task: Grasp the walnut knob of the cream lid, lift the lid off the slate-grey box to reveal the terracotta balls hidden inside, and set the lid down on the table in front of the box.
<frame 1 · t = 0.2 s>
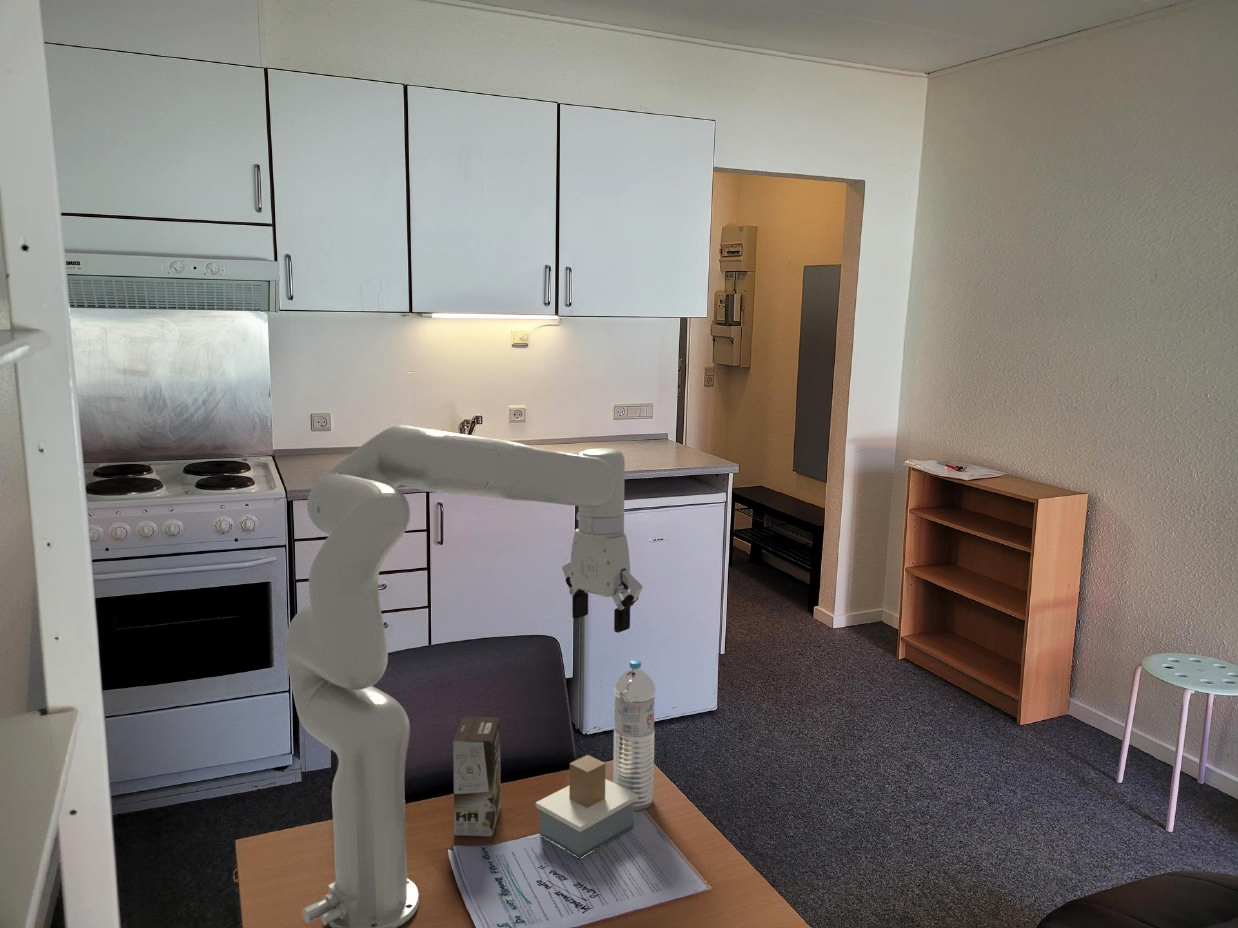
hand: (600, 623, 154), 30 cm above the table, fingers open, 9 cm apart
water bottle: (633, 802, 156), on the table
coffee box: (478, 822, 150), on the table
lid: (587, 803, 146), point 5 cm above the table, touching box
box: (587, 832, 147), on the table
ball c: (607, 815, 148), point 2 cm above the table, touching box
ball b: (580, 815, 148), point 2 cm above the table, touching box
ball a: (580, 829, 143), point 2 cm above the table, touching box
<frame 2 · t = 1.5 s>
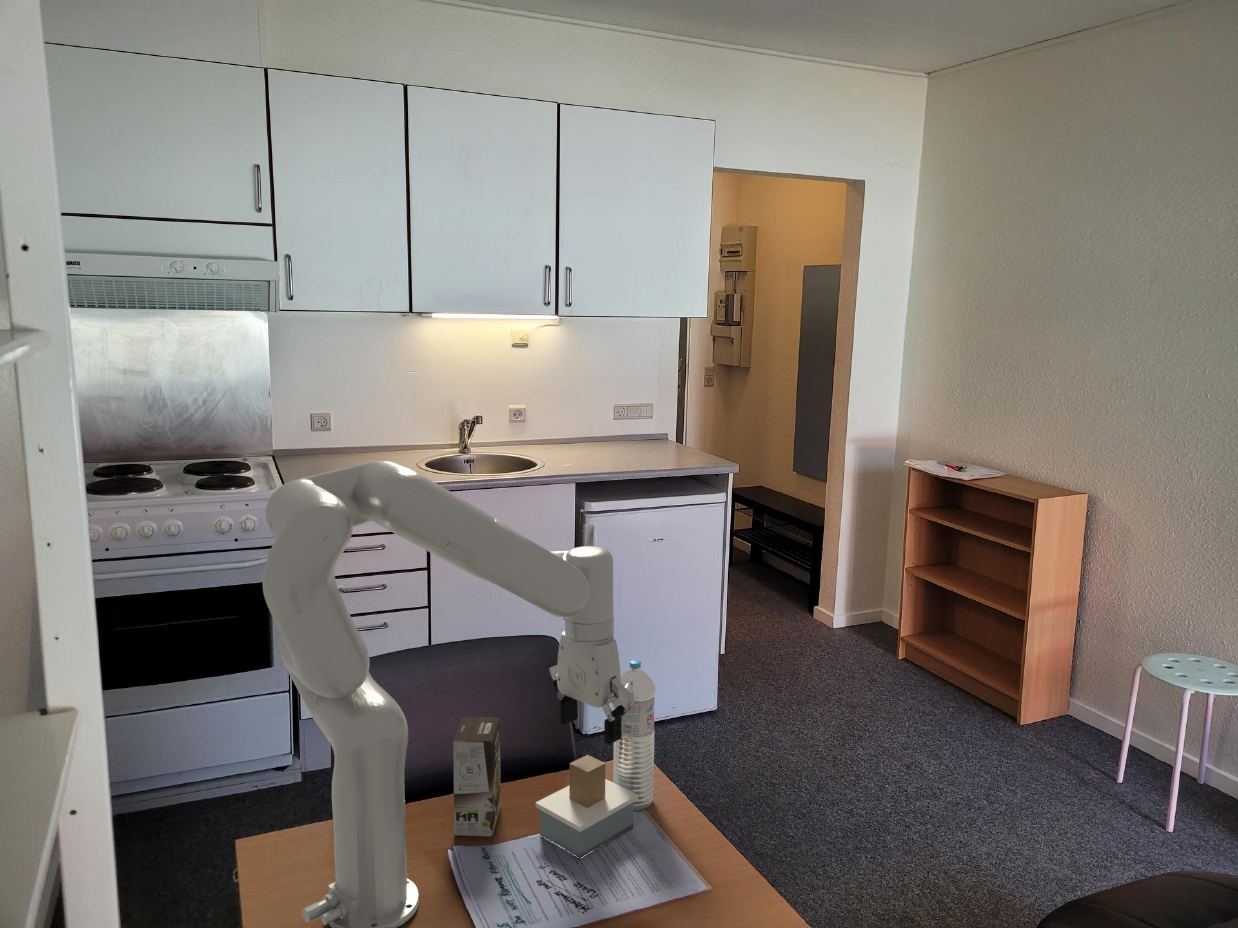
hand: (590, 731, 144), 17 cm above the table, fingers open, 9 cm apart
nothing on the table moved.
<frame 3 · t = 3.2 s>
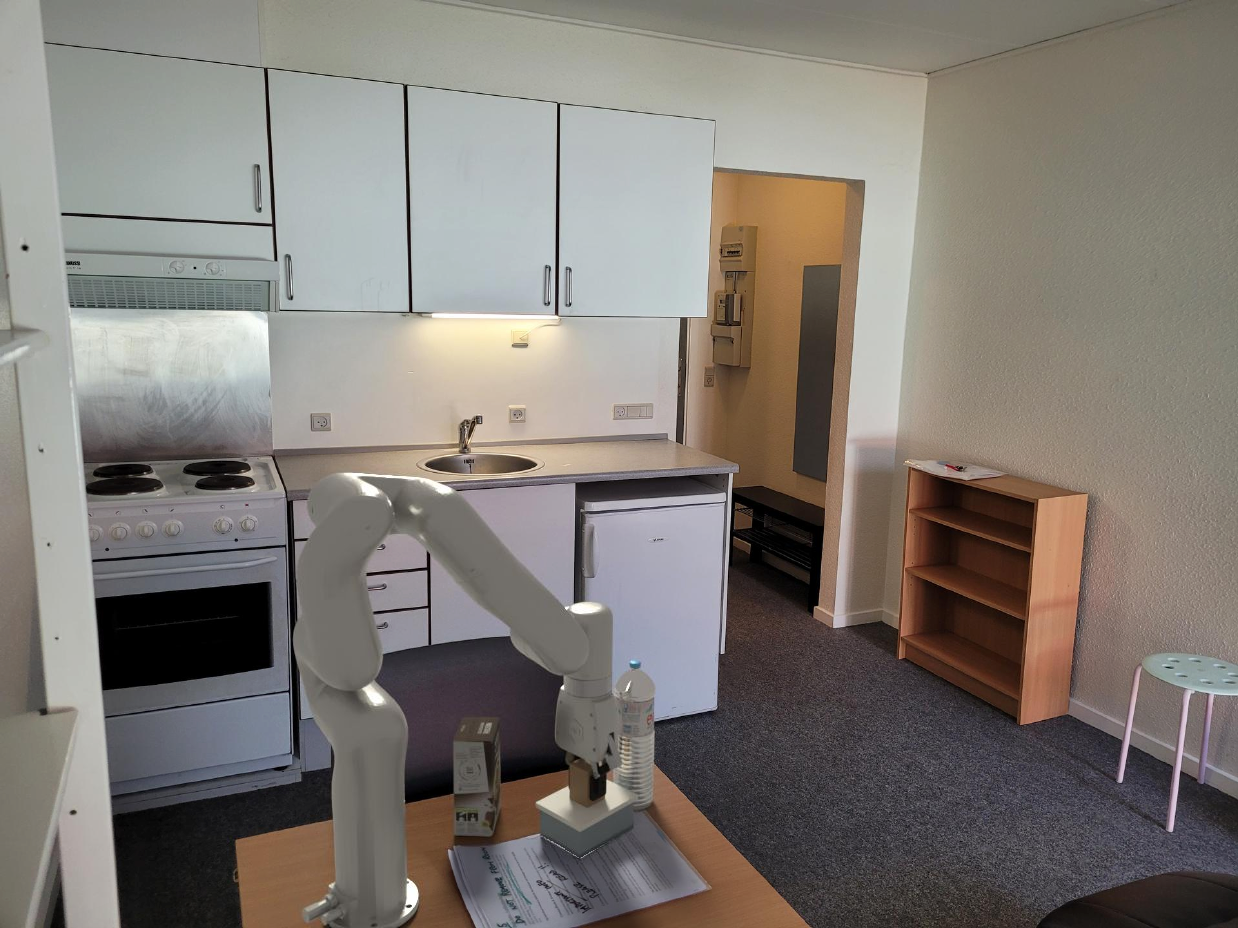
hand: (587, 790, 146), 7 cm above the table, fingers closed on lid, 4 cm apart
lid: (587, 803, 146), point 5 cm above the table, touching box, gripper
everything else where it was.
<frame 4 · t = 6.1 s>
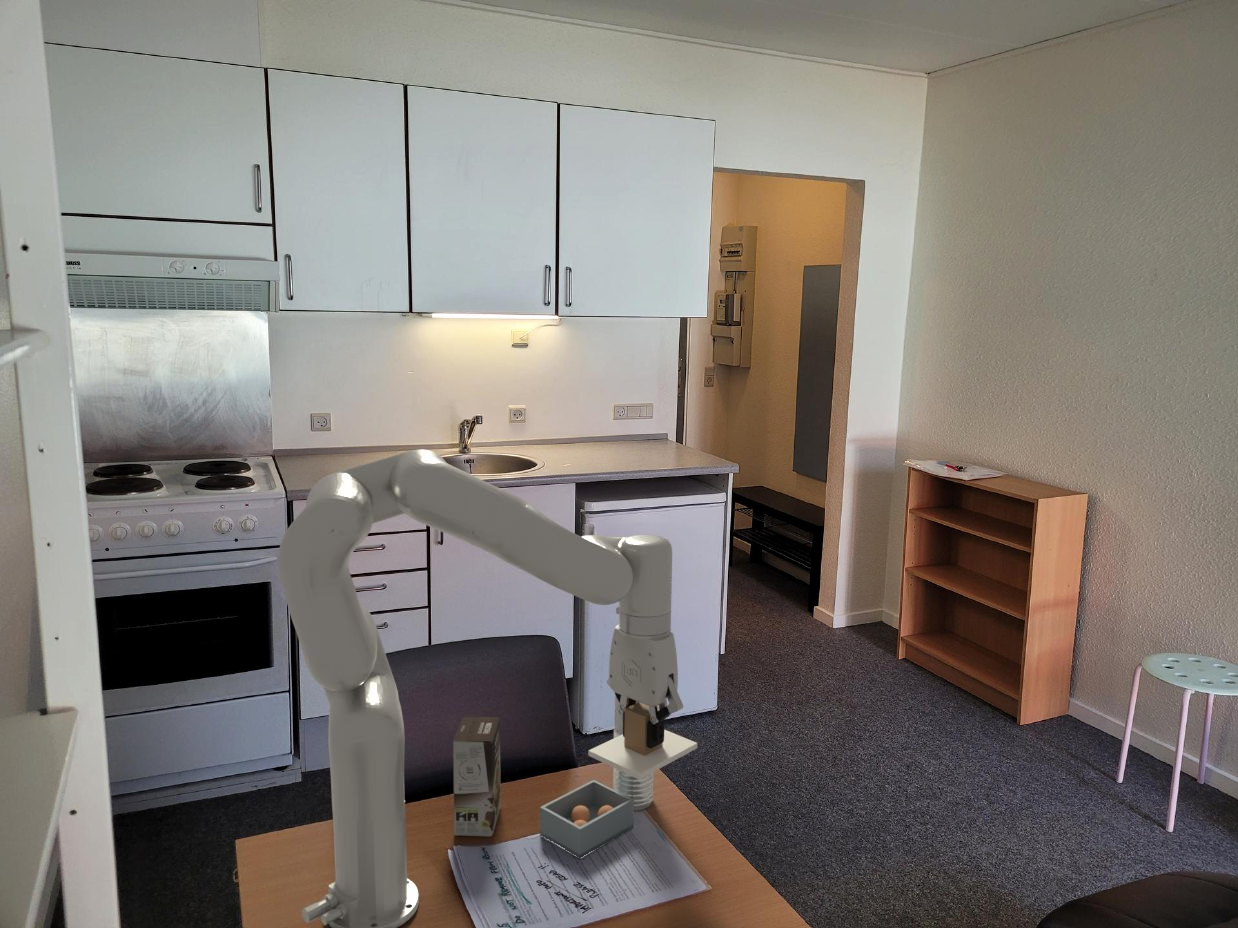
hand: (643, 738, 136), 20 cm above the table, fingers closed on lid, 4 cm apart
lid: (643, 751, 136), point 18 cm above the table, touching gripper
everything else where it was.
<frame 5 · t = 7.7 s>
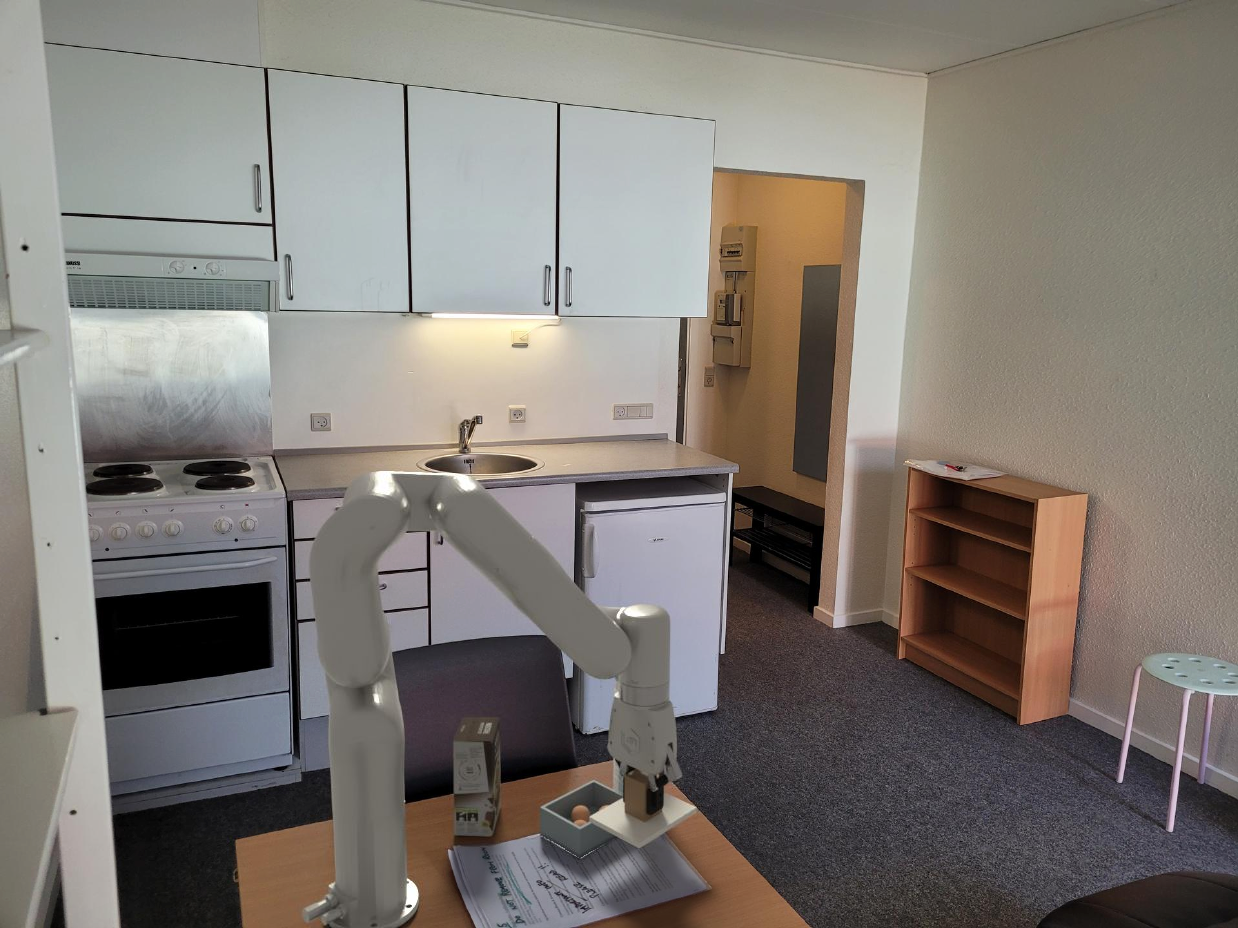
hand: (643, 804, 138), 9 cm above the table, fingers closed on lid, 4 cm apart
lid: (643, 816, 138), point 7 cm above the table, touching gripper
everything else where it was.
when the fingers open (3 cm above the table, at t = 9.2 s): lid drops 2 cm, on the table.
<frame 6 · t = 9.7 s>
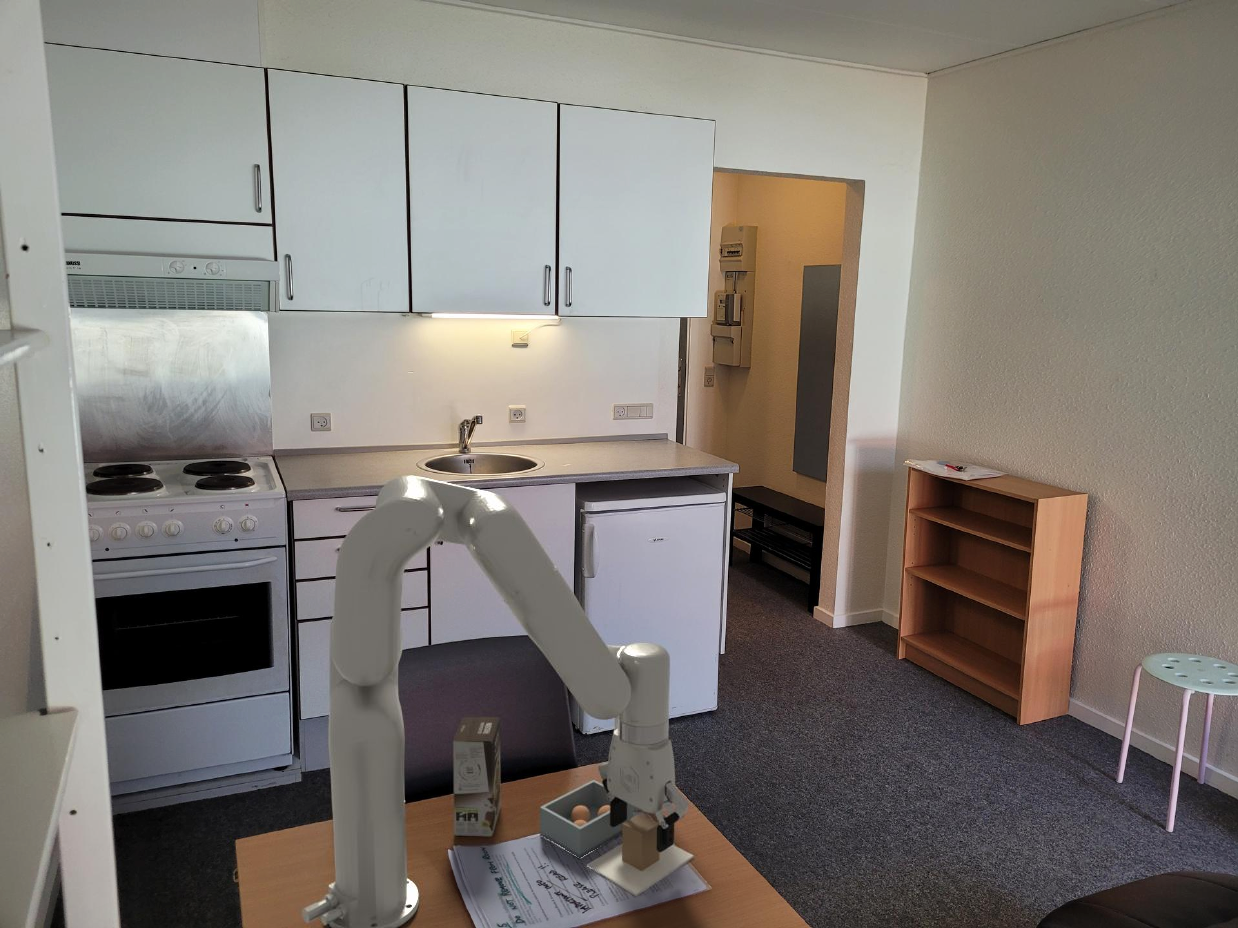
hand: (641, 834, 139), 4 cm above the table, fingers open, 9 cm apart
lid: (640, 864, 139), on the table
everything else where it was.
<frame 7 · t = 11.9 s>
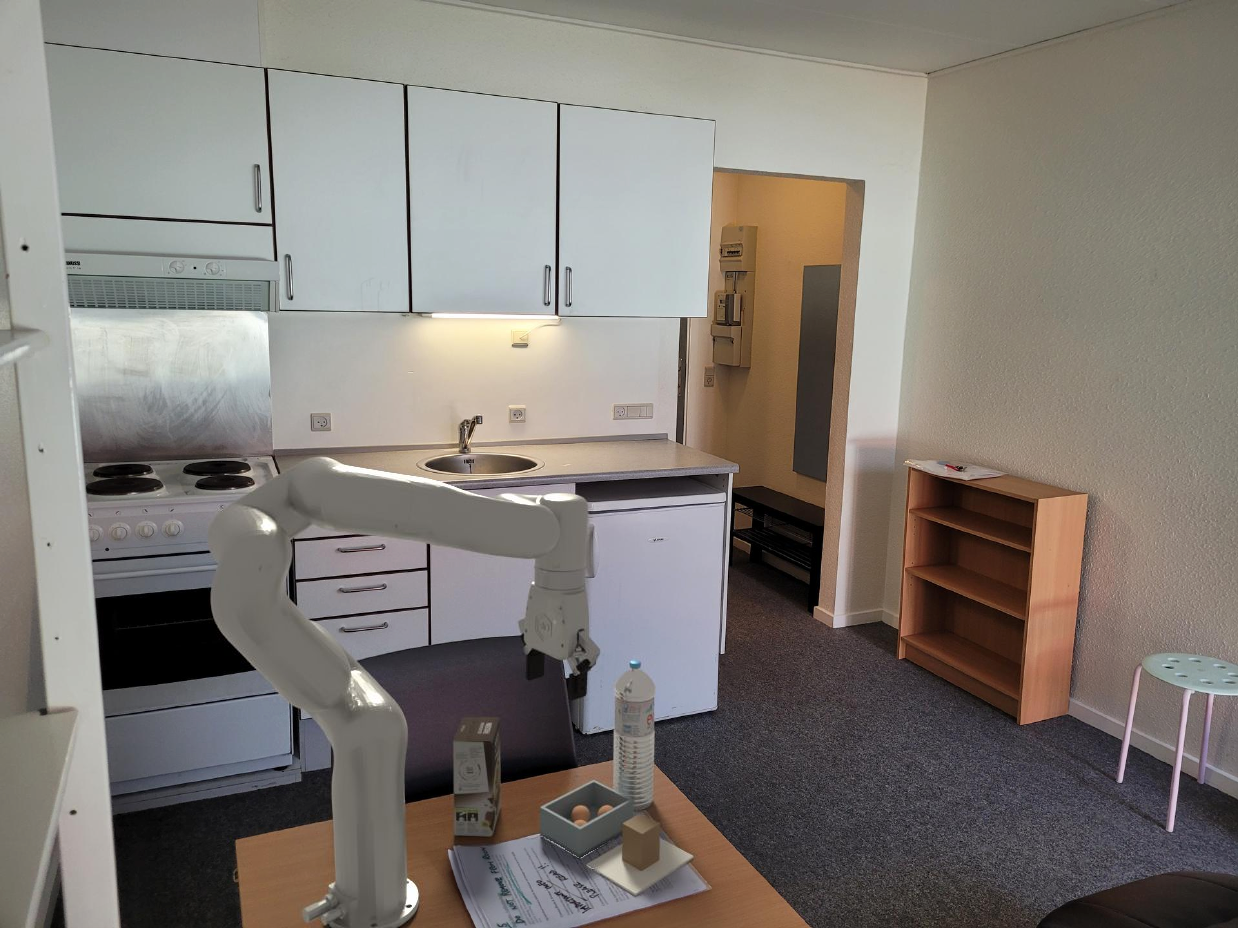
hand: (555, 687, 139), 26 cm above the table, fingers open, 9 cm apart
nothing on the table moved.
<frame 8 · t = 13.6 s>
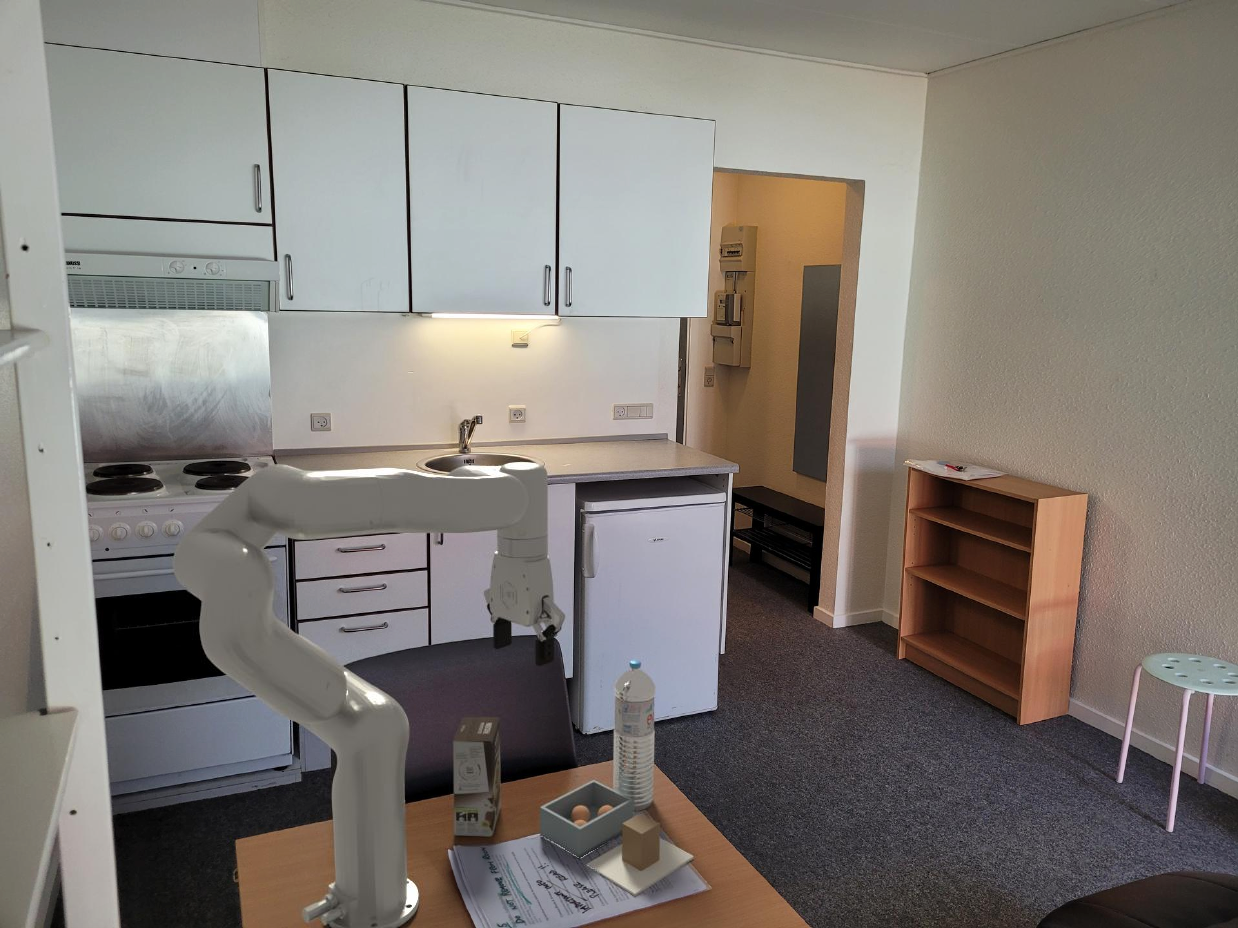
hand: (523, 654, 140), 30 cm above the table, fingers open, 9 cm apart
nothing on the table moved.
at the end: lid inside the target area (0.0 cm from its centre), on the table; lid touching table; the gripper is holding nothing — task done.
